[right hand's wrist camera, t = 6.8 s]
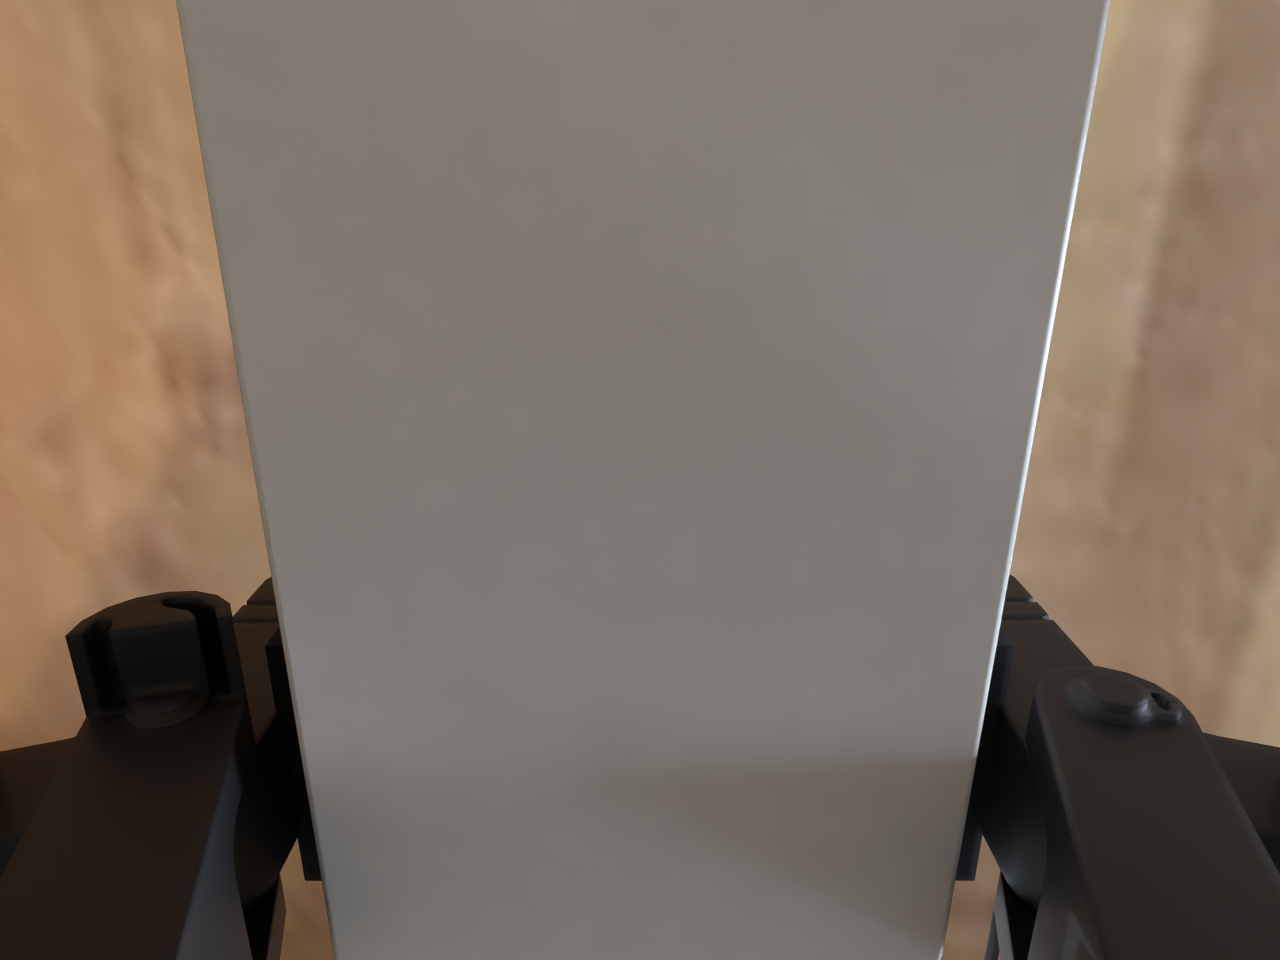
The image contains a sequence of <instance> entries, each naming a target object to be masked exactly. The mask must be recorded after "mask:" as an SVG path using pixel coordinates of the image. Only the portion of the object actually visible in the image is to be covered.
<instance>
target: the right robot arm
mask: <svg viewBox="0 0 1280 960" xmlns="http://www.w3.org/2000/svg"><path fill="white" fill-rule="evenodd" d="M65 637H66V640H67V644H68V648H69V652H70V656H71V660H72V663H73V667H74V671H75V675H76V679H77V682H78V686H79V690H80V694H81V698H82V701H83V705H84V709H85V713H86V719H85V721H84V723H83V725H82V726H81V728H80V730H79V732H78V734H77V736H76V737H73V738H69V739H65V740H60V741H55V742H49V743H44V744H39V745H33V746H28V747H23V748H17V749H12V750H6V751H1V752H0V960H280V953H281V945H282V938H283V931H284V923H285V916H286V907H285V900H284V893H283V888H282V883H281V877H280V871H281V869H282V867H283V865H284V863H285V861H286V859H287V857H288V855H289V853H290V851H291V849H292V847H293V845H294V843H295V841H296V839H297V837H298V842H299V848H300V854H301V860H302V865H303V871H304V877H305V881H322V878H321V872H320V866H319V860H318V854H317V848H316V842H315V836H314V830H313V824H312V818H311V812H310V806H309V800H308V794H307V788H306V782H305V776H304V770H303V764H302V757H301V751H300V745H299V739H298V733H297V727H296V721H295V715H294V709H293V703H292V697H291V691H290V685H289V679H288V673H287V667H286V661H285V655H284V649H283V643H282V637H281V631H280V625H279V619H278V613H277V607H276V601H275V595H274V589H273V582H272V577H270V578H269V579H267V580H265V581H264V583H263V584H262V585H261V586H260V587H259V588H258V589H257V590H256V592H255V593H254V594H253V595H252V596H251V597H250V598H249V599H248V600H247V605H243V606H242V607H241V608H240V609H239V611H238V612H237V613H236V614H235V615H234V616H233V617H232V612H231V607H230V603H228V602H227V601H225V600H224V599H222V598H221V597H219V596H218V595H214V594H209V593H203V592H198V591H182V592H165V593H159V594H154V595H148V596H143V597H138V598H134V599H131V600H128V601H125V602H122V603H119V604H116V605H113V606H110V607H107V608H105V609H103V610H101V611H99V612H98V613H96V614H94V615H92V616H90V617H88V618H86V619H84V620H83V621H81V622H80V623H79V624H78V625H77V626H76V627H75V628H73V629H72V630H71V631H70V632H69V633H68V634H67V635H66V636H65ZM982 834H983V836H984V838H985V840H986V842H987V844H988V846H989V848H990V850H991V852H992V854H993V856H994V857H995V859H996V861H997V863H998V865H999V867H1000V869H1001V872H1000V877H999V883H998V888H997V893H996V899H995V904H994V910H993V915H992V920H991V926H990V931H989V937H988V942H987V947H986V953H985V960H998V955H999V954H1000V958H1001V960H1280V748H1279V747H1274V746H1268V745H1263V744H1258V743H1252V742H1247V741H1241V740H1236V739H1231V738H1225V737H1220V736H1215V735H1211V734H1207V733H1203V732H1202V730H1201V729H1200V727H1199V725H1198V723H1197V721H1196V719H1195V717H1194V716H1193V715H1192V713H1191V712H1190V711H1189V710H1188V709H1187V708H1186V707H1185V705H1184V704H1183V703H1182V702H1181V701H1180V700H1179V699H1178V698H1176V697H1175V696H1173V695H1172V694H1170V693H1168V692H1167V691H1165V690H1164V689H1162V688H1161V687H1159V686H1157V685H1156V684H1154V683H1151V682H1149V681H1146V680H1144V679H1141V678H1139V677H1136V676H1134V675H1131V674H1129V673H1126V672H1121V671H1117V670H1112V669H1108V668H1103V667H1099V666H1094V665H1093V664H1092V663H1091V662H1090V661H1089V660H1088V658H1087V657H1086V656H1085V655H1084V654H1083V653H1082V652H1081V651H1080V650H1079V648H1078V647H1077V646H1076V645H1075V644H1074V643H1073V642H1072V641H1071V640H1070V638H1069V637H1068V636H1067V635H1066V634H1065V633H1064V632H1063V631H1062V630H1061V628H1060V627H1059V626H1058V625H1057V624H1056V623H1055V622H1054V621H1053V620H1049V615H1048V614H1047V613H1046V612H1045V611H1044V610H1043V608H1042V607H1041V606H1040V605H1039V604H1038V603H1037V602H1033V597H1032V596H1031V595H1030V594H1029V593H1028V592H1027V591H1026V589H1025V588H1024V587H1023V586H1022V585H1021V584H1020V583H1019V582H1018V581H1017V579H1016V578H1015V577H1013V576H1012V575H1010V574H1009V578H1008V584H1007V590H1006V595H1005V601H1004V607H1003V612H1002V618H1001V624H1000V629H999V635H998V641H997V646H996V652H995V658H994V663H993V669H992V675H991V680H990V686H989V691H988V697H987V703H986V708H985V714H984V720H983V725H982V731H981V737H980V742H979V748H978V754H977V759H976V765H975V771H974V776H973V782H972V788H971V793H970V799H969V805H968V810H967V816H966V822H965V827H964V833H963V839H962V844H961V850H960V855H959V861H958V867H957V872H956V878H955V881H974V880H975V874H976V868H977V862H978V856H979V851H980V845H981V839H982Z"/></svg>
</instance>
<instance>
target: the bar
mask: <svg viewBox="0 0 1280 960" xmlns="http://www.w3.org/2000/svg"><path fill="white" fill-rule="evenodd" d="M1110 2H1111V0H176V3H177V9H178V15H179V21H180V27H181V33H182V39H183V45H184V51H185V57H186V64H187V70H188V76H189V82H190V88H191V94H192V100H193V106H194V112H195V118H196V124H197V130H198V136H199V142H200V148H201V154H202V160H203V166H204V172H205V178H206V184H207V190H208V196H209V202H210V208H211V214H212V220H213V226H214V232H215V239H216V245H217V251H218V257H219V263H220V269H221V275H222V281H223V287H224V293H225V299H226V305H227V311H228V317H229V323H230V329H231V335H232V341H233V347H234V353H235V359H236V365H237V371H238V377H239V383H240V389H241V395H242V401H243V407H244V414H245V420H246V426H247V432H248V438H249V444H250V450H251V456H252V462H253V468H254V474H255V480H256V486H257V492H258V498H259V504H260V510H261V516H262V522H263V528H264V534H265V540H266V546H267V552H268V558H269V564H270V570H271V576H272V582H273V589H274V595H275V601H276V607H277V613H278V619H279V625H280V631H281V637H282V643H283V649H284V655H285V661H286V667H287V673H288V679H289V685H290V691H291V697H292V703H293V709H294V715H295V721H296V727H297V733H298V739H299V745H300V751H301V757H302V764H303V770H304V776H305V782H306V788H307V794H308V800H309V806H310V812H311V818H312V824H313V830H314V836H315V842H316V848H317V854H318V860H319V866H320V872H321V878H322V884H323V890H324V896H325V902H326V908H327V914H328V920H329V926H330V932H331V939H332V945H333V951H334V957H335V960H941V957H942V952H943V946H944V940H945V935H946V929H947V923H948V918H949V912H950V906H951V901H952V895H953V889H954V884H955V878H956V872H957V867H958V861H959V855H960V850H961V844H962V839H963V833H964V827H965V822H966V816H967V810H968V805H969V799H970V793H971V788H972V782H973V776H974V771H975V765H976V759H977V754H978V748H979V742H980V737H981V731H982V725H983V720H984V714H985V708H986V703H987V697H988V691H989V686H990V680H991V675H992V669H993V663H994V658H995V652H996V646H997V641H998V635H999V629H1000V624H1001V618H1002V612H1003V607H1004V601H1005V595H1006V590H1007V584H1008V578H1009V573H1010V567H1011V561H1012V556H1013V550H1014V544H1015V539H1016V533H1017V527H1018V522H1019V516H1020V511H1021V505H1022V499H1023V494H1024V488H1025V482H1026V477H1027V471H1028V465H1029V460H1030V454H1031V448H1032V443H1033V437H1034V431H1035V426H1036V420H1037V414H1038V409H1039V403H1040V397H1041V392H1042V386H1043V380H1044V375H1045V369H1046V363H1047V358H1048V352H1049V347H1050V341H1051V335H1052V330H1053V324H1054V318H1055V313H1056V307H1057V301H1058V296H1059V290H1060V284H1061V279H1062V273H1063V267H1064V262H1065V256H1066V250H1067V245H1068V239H1069V233H1070V228H1071V222H1072V216H1073V211H1074V205H1075V199H1076V194H1077V188H1078V183H1079V177H1080V171H1081V166H1082V160H1083V154H1084V149H1085V143H1086V137H1087V132H1088V126H1089V120H1090V115H1091V109H1092V103H1093V98H1094V92H1095V86H1096V81H1097V75H1098V69H1099V64H1100V58H1101V52H1102V47H1103V41H1104V35H1105V30H1106V24H1107V19H1108V13H1109V7H1110Z"/></svg>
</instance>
